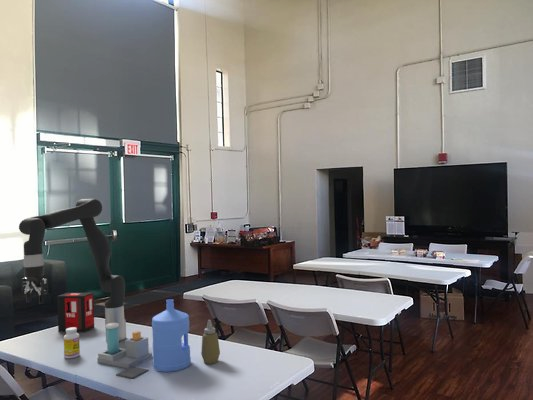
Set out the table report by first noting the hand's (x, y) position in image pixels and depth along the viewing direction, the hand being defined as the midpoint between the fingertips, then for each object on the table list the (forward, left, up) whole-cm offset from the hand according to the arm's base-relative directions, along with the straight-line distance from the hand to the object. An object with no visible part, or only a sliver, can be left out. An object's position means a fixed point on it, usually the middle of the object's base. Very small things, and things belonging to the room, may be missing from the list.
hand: (35, 302), depth 186 cm
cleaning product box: (-49, -37, -29) cm, 68 cm away
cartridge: (-21, +22, -27) cm, 41 cm away
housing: (-24, +26, -29) cm, 46 cm away
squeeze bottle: (-37, +64, -29) cm, 79 cm away
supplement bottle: (-18, -1, -29) cm, 34 cm away
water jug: (-27, +51, -29) cm, 64 cm away
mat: (-14, +41, -29) cm, 52 cm away
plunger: (-27, +31, -22) cm, 46 cm away
